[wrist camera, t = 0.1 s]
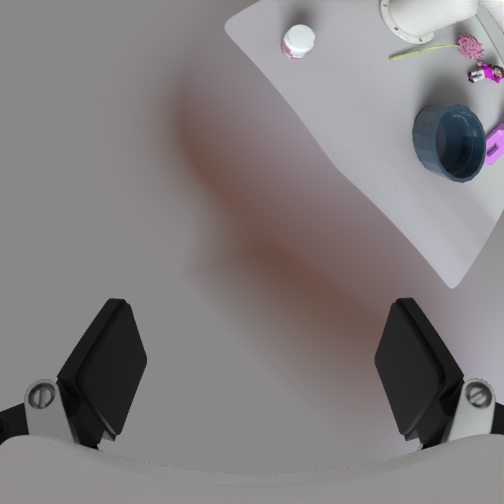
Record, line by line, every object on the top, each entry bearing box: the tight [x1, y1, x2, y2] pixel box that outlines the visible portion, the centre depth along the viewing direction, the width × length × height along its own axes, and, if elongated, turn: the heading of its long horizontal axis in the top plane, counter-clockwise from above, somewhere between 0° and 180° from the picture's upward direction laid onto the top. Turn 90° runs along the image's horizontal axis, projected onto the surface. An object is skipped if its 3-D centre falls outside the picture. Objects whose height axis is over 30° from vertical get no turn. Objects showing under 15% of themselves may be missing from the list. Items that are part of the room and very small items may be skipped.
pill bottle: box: [281, 25, 315, 60], centre depth 35 cm, size 5×5×8 cm
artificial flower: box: [389, 32, 484, 61], centre depth 34 cm, size 7×7×25 cm
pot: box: [413, 104, 486, 183], centre depth 41 cm, size 15×15×8 cm
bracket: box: [484, 123, 504, 165], centre depth 40 cm, size 13×6×7 cm, turn 130°
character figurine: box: [468, 61, 504, 83], centre depth 34 cm, size 6×5×12 cm
